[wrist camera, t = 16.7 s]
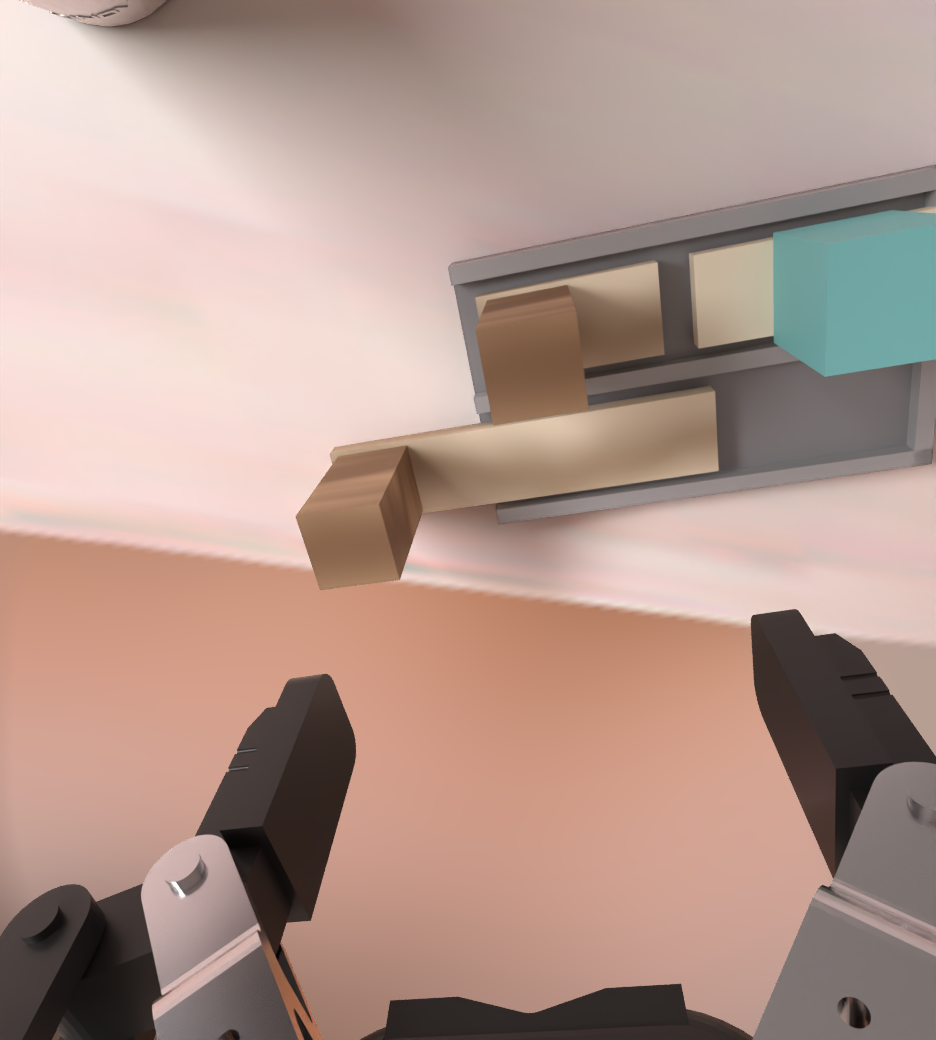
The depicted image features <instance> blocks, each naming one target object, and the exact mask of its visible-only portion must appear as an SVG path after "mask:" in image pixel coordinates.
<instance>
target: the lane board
mask: <svg viewBox="0 0 936 1040" xmlns="http://www.w3.org/2000/svg"><path fill="white" fill-rule="evenodd" d="M890 210H898V211H911V212H923V213H936V165H932V166H927V167H922V168H917V169H912V170H907V171H903V172H898V173H893V174H888V175H883V176H878V177H873V178H868V179H863V180H858V181H853V182H848V183H843V184H839V185H834V186H829V187H824V188H819V189H814V190H809V191H804V192H799V193H794V194H789V195H784V196H779V197H775V198H770V199H765V200H760V201H755V202H750V203H745V204H740V205H735V206H730V207H725V208H720V209H716V210H711V211H706V212H701V213H696V214H691V215H686V216H681V217H676V218H671V219H666V220H661V221H656V222H652V223H647V224H642V225H637V226H632V227H627V228H622V229H617V230H612V231H607V232H602V233H597V234H592V235H588V236H583V237H578V238H573V239H568V240H563V241H558V242H553V243H548V244H543V245H538V246H533V247H528V248H524V249H519V250H514V251H509V252H504V253H499V254H494V255H489V256H484V257H479V258H474V259H469V260H464V261H460V262H455V263H452V264H451V265H450V266H449V267H448V270H449V275H450V280H451V285H454V289H455V294H456V299H457V304H458V309H459V314H460V319H461V325H462V330H463V335H464V340H465V345H466V350H467V355H468V360H469V365H470V370H471V375H472V381H473V386H474V391H475V396H474V402H475V407H476V412H477V414H479V416H480V421H481V423H485V422H491V421H492V416H491V411H490V406H489V401H488V395H487V390H486V385H485V379H484V374H483V369H482V363H481V358H480V353H479V348H478V342H477V337H476V332H475V330H476V327H477V324H478V322H479V316H478V311H477V305H476V300H475V297H476V295H477V294H482V293H487V292H492V291H497V290H503V289H508V288H513V287H518V286H523V285H528V284H533V283H538V282H544V281H549V280H554V279H559V278H564V277H569V276H574V275H580V274H585V273H590V272H595V271H600V270H605V269H610V268H616V267H621V266H626V265H631V264H636V263H641V262H646V261H652V260H655V261H656V262H658V275H659V288H660V301H661V314H662V327H663V341H664V355H659V356H653V357H647V358H641V359H635V360H630V361H624V362H618V363H612V364H607V365H601V366H595V367H589V368H584V376H585V384H586V392H587V400H588V406H589V405H595V404H601V403H607V402H613V401H619V400H625V399H631V398H638V397H644V396H650V395H656V394H662V393H668V392H674V391H680V390H686V389H692V388H698V387H705V386H711V387H712V388H713V390H714V391H715V401H716V423H717V445H718V467H719V471H715V472H708V473H701V474H694V475H687V476H680V477H673V478H666V479H659V480H652V481H645V482H639V483H632V484H625V485H618V486H611V487H604V488H597V489H590V490H583V491H576V492H569V493H563V494H556V495H549V496H542V497H535V498H528V499H521V500H514V501H507V502H500V503H497V507H496V513H497V518H498V523H499V524H504V523H511V522H519V521H526V520H533V519H540V518H547V517H554V516H562V515H569V514H576V513H583V512H590V511H597V510H605V509H612V508H619V507H626V506H633V505H640V504H648V503H655V502H662V501H669V500H676V499H683V498H691V497H698V496H705V495H712V494H719V493H726V492H734V491H741V490H748V489H755V488H762V487H769V486H777V485H784V484H791V483H798V482H805V481H812V480H820V479H827V478H834V477H841V476H848V475H855V474H863V473H870V472H877V471H884V470H891V469H898V468H906V467H913V466H920V465H927V464H931V463H932V453H933V442H934V431H935V421H936V359H935V360H928V361H922V362H916V363H909V364H903V365H897V366H890V367H884V368H878V369H871V370H865V371H859V372H852V373H846V374H839V375H833V376H827V377H824V376H823V375H821V374H820V373H818V372H817V371H815V370H814V369H812V368H811V367H809V366H808V365H806V364H805V363H803V362H802V361H800V360H799V359H797V358H796V357H794V356H793V355H791V354H790V353H788V352H787V351H785V350H784V349H782V348H781V347H779V346H778V345H776V344H775V343H774V307H773V233H774V232H779V231H785V230H790V229H795V228H800V227H806V226H811V225H816V224H821V223H827V222H832V221H837V220H842V219H848V218H853V217H858V216H863V215H869V214H874V213H879V212H884V211H890Z"/></svg>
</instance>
